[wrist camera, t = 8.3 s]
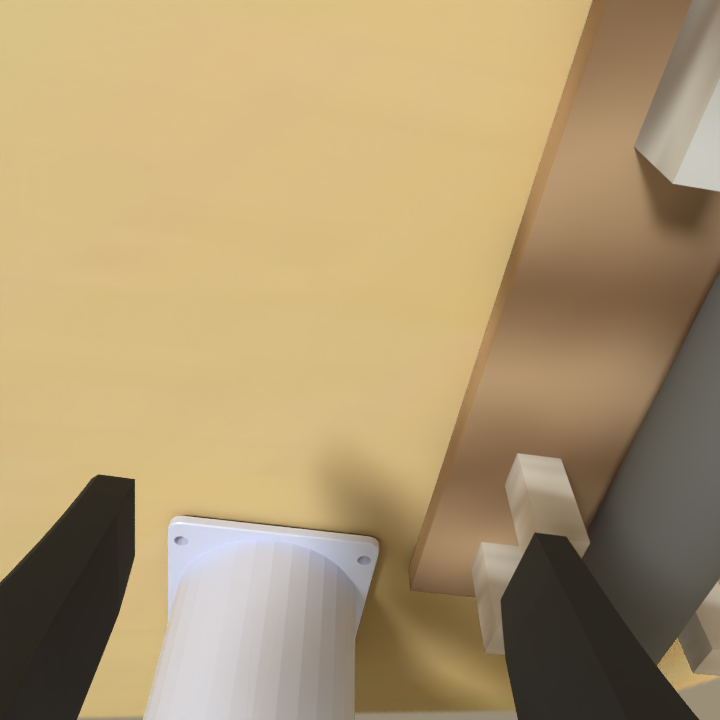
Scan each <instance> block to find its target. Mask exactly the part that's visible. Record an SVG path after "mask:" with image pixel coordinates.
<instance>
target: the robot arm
mask: <svg viewBox="0 0 720 720" xmlns="http://www.w3.org/2000/svg"><path fill="white" fill-rule="evenodd" d="M181 536H182V537H181ZM378 555H379V542H378V541H377V540H376V539H375V538H373V537H369V536H362V535H353V534H344V533H334V532H325V531H316V530H307V529H298V528H289V527H280V526H271V525H262V524H253V523H244V522H235V521H226V520H217V519H208V518H199V517H190V516H177V517H174V518H173V519H172V520H171V521H170V525H169V528H168V626H167V630H166V634H165V637H164V641H163V645H162V649H161V653H160V657H159V660H158V664H157V668H156V672H155V676H154V680H153V683H152V687H151V691H150V695H149V699H148V703H147V707H146V710H145V714H144V718H143V720H354V719H355V638H356V634H357V630H358V627H359V623H360V620H361V616H362V612H363V609H364V605H365V602H366V598H367V594H368V591H369V587H370V584H371V580H372V577H373V573H374V569H375V566H376V562H377V559H378ZM363 556H364V557H363ZM134 557H135V479H129V478H121V477H114V476H106V475H97V476H95V477H94V478H92V479H91V480H90V482H89V483H88V484H87V486H86V487H85V488H84V489H83V491H82V492H81V493H80V494H79V496H78V497H77V498H76V499H75V501H74V502H73V503H72V504H71V505H70V507H69V508H68V509H67V510H66V511H65V513H64V514H63V515H62V516H61V517H60V519H59V520H58V521H57V522H56V523H55V524H54V525H53V526H52V528H51V529H50V530H49V531H48V532H47V533H46V534H45V536H44V537H43V538H42V539H41V540H40V541H39V542H38V543H37V544H36V545H35V546H34V548H33V549H32V550H31V551H30V552H29V553H28V554H27V555H26V556H25V557H24V558H23V559H22V560H21V561H20V562H19V564H18V565H17V566H16V567H15V568H14V569H13V570H12V571H11V572H10V573H9V574H8V575H7V576H6V577H5V578H4V579H3V580H2V581H1V582H0V720H77V718H78V715H79V713H80V710H81V708H82V705H83V703H84V700H85V698H86V695H87V693H88V690H89V688H90V685H91V683H92V680H93V677H94V675H95V672H96V670H97V667H98V665H99V662H100V660H101V657H102V655H103V652H104V650H105V647H106V645H107V642H108V640H109V637H110V635H111V632H112V630H113V627H114V624H115V622H116V619H117V617H118V614H119V611H120V607H121V604H122V600H123V597H124V593H125V590H126V586H127V583H128V579H129V575H130V572H131V568H132V564H133V561H134ZM500 602H501V615H502V629H503V640H504V650H505V658H506V663H507V668H508V673H509V678H510V683H511V688H512V693H513V698H514V702H515V707H516V712H517V717H518V720H699V719H698V718H697V716H696V715H695V714H694V713H693V712H692V710H691V709H690V708H689V707H688V705H687V704H686V703H685V702H684V700H683V699H682V698H681V697H680V696H679V694H678V693H677V692H676V690H675V689H674V688H673V686H672V685H671V684H670V683H669V681H668V680H667V679H666V678H665V676H664V675H663V674H662V673H661V671H660V670H659V669H658V667H657V666H656V665H655V663H654V662H653V661H652V659H651V658H650V657H649V655H648V654H647V653H646V651H645V650H644V648H643V647H642V646H641V644H640V643H639V641H638V640H637V639H636V637H635V636H634V635H633V633H632V632H631V630H630V629H629V628H628V626H627V625H626V623H625V622H624V621H623V619H622V618H621V616H620V615H619V613H618V612H617V610H616V609H615V608H614V606H613V605H612V603H611V602H610V600H609V599H608V597H607V596H606V594H605V593H604V591H603V590H602V589H601V587H600V586H599V584H598V583H597V581H596V580H595V578H594V577H593V575H592V574H591V572H590V571H589V569H588V568H587V566H586V565H585V563H584V562H583V560H582V559H581V557H580V556H579V554H578V553H577V551H576V550H575V548H574V547H573V545H572V544H571V543H570V541H569V540H568V538H567V537H566V536H559V535H551V534H544V533H536V532H535V533H534V535H533V537H532V539H531V541H530V543H529V545H528V546H527V548H526V550H525V552H524V554H523V556H522V558H521V560H520V562H519V564H518V566H517V568H516V570H515V572H514V574H513V576H512V578H511V580H510V582H509V584H508V586H507V588H506V590H505V592H504V594H503V596H502V598H501V600H500Z"/></svg>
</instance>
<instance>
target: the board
mask: <svg viewBox="0 0 720 720" xmlns="http://www.w3.org/2000/svg"><path fill="white" fill-rule="evenodd" d="M719 272H720V0H593V2H592V5H591V8H590V11H589V14H588V17H587V20H586V23H585V26H584V30H583V33H582V36H581V39H580V42H579V45H578V48H577V51H576V54H575V57H574V60H573V64H572V67H571V70H570V73H569V76H568V79H567V82H566V85H565V88H564V91H563V94H562V97H561V101H560V104H559V107H558V110H557V113H556V116H555V119H554V122H553V125H552V128H551V131H550V135H549V138H548V141H547V144H546V147H545V150H544V153H543V156H542V159H541V162H540V165H539V168H538V172H537V175H536V178H535V181H534V184H533V187H532V190H531V193H530V196H529V199H528V202H527V206H526V209H525V212H524V215H523V218H522V221H521V224H520V227H519V230H518V233H517V236H516V239H515V243H514V246H513V249H512V252H511V255H510V258H509V261H508V264H507V267H506V270H505V273H504V277H503V280H502V283H501V286H500V289H499V292H498V295H497V298H496V301H495V304H494V307H493V310H492V314H491V317H490V320H489V323H488V326H487V329H486V332H485V335H484V338H483V341H482V344H481V348H480V351H479V354H478V357H477V360H476V363H475V366H474V369H473V372H472V375H471V378H470V382H469V385H468V388H467V391H466V394H465V397H464V400H463V403H462V406H461V409H460V412H459V415H458V419H457V422H456V425H455V428H454V431H453V434H452V437H451V440H450V443H449V446H448V449H447V453H446V456H445V459H444V462H443V465H442V468H441V471H440V474H439V477H438V480H437V483H436V486H435V490H434V493H433V496H432V499H431V502H430V505H429V508H428V511H427V514H426V517H425V520H424V524H423V527H422V530H421V533H420V536H419V539H418V542H417V545H416V548H415V551H414V554H413V557H412V561H411V564H410V567H409V581H410V591H420V592H430V593H439V594H449V595H459V596H468V597H476V602H477V608H478V615H479V621H480V627H481V633H482V639H483V646H484V652H485V653H487V654H497V655H505V650H504V640H503V629H502V615H501V602H500V600H501V598H502V596H503V594H504V592H505V590H506V588H507V586H508V584H509V582H510V580H511V578H512V576H513V574H514V572H515V570H516V568H517V566H518V564H519V562H520V560H521V558H522V556H523V554H524V552H525V550H526V548H527V546H528V545H529V543H530V541H531V539H532V537H533V535H534V533H535V532H536V533H544V534H551V535H559V536H566V537H567V538H568V540H569V541H570V543H571V544H572V545H573V547H574V548H575V550H576V551H577V553H578V554H579V556H580V557H581V559H582V557H583V555H584V553H585V551H586V550H587V548H588V546H589V544H590V540H589V538H588V535H587V530H588V528H589V526H590V524H591V522H592V520H593V518H594V516H595V514H596V512H597V510H598V508H599V507H600V505H601V503H602V501H603V499H604V497H605V495H606V493H607V491H608V489H609V487H610V485H611V483H612V481H613V479H614V477H615V475H616V473H617V471H618V469H619V467H620V465H621V464H622V462H623V460H624V458H625V456H626V454H627V452H628V450H629V448H630V446H631V444H632V442H633V440H634V438H635V436H636V434H637V432H638V430H639V428H640V426H641V424H642V422H643V420H644V419H645V417H646V415H647V413H648V411H649V409H650V407H651V405H652V403H653V401H654V399H655V397H656V395H657V393H658V391H659V389H660V387H661V385H662V383H663V381H664V379H665V377H666V375H667V374H668V372H669V370H670V368H671V366H672V364H673V362H674V360H675V358H676V356H677V354H678V352H679V350H680V348H681V346H682V344H683V342H684V340H685V338H686V336H687V334H688V332H689V331H690V329H691V327H692V325H693V323H694V321H695V319H696V317H697V315H698V313H699V311H700V309H701V307H702V305H703V303H704V301H705V299H706V297H707V295H708V293H709V291H710V289H711V287H712V286H713V284H714V282H715V280H716V278H717V276H718V274H719ZM678 639H679V641H680V644H681V646H682V648H683V651H684V653H685V655H686V658H687V660H688V663H689V665H690V667H691V670H692V672H693V673H696V674H706V675H716V676H720V579H719V580H718V582H717V583H716V584H715V586H714V587H713V589H712V590H711V591H710V593H709V594H708V595H707V597H706V598H705V600H704V601H703V602H702V604H701V605H700V607H699V608H698V609H697V611H696V612H695V613H694V615H693V616H692V618H691V619H690V620H689V622H688V623H687V624H686V626H685V627H684V629H683V630H682V631H681V633H680V634H679V636H678Z"/></svg>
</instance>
